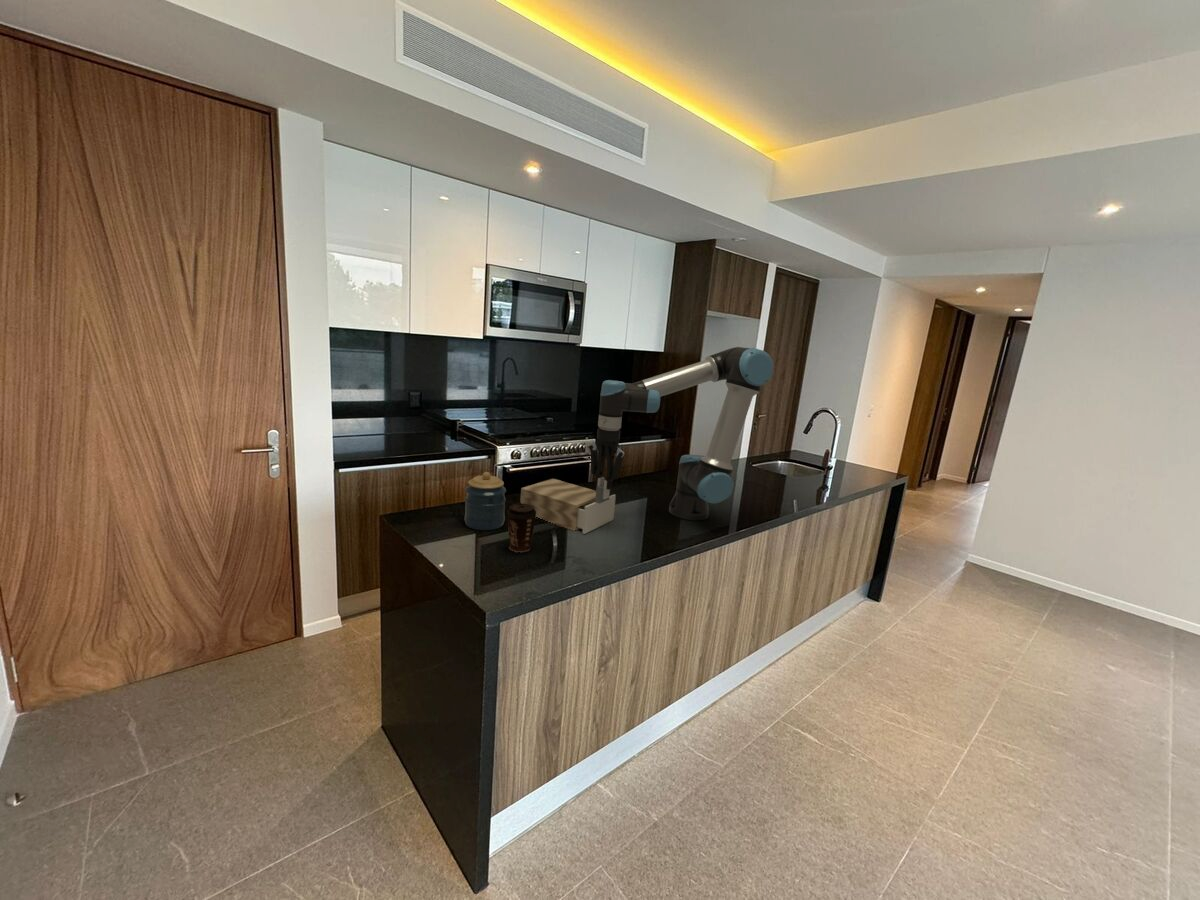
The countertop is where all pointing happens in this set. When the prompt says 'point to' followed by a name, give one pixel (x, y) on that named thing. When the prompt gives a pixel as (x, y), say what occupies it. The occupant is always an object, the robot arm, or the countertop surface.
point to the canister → (485, 503)
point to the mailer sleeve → (557, 501)
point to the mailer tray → (596, 511)
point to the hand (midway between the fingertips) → (602, 496)
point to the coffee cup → (521, 526)
